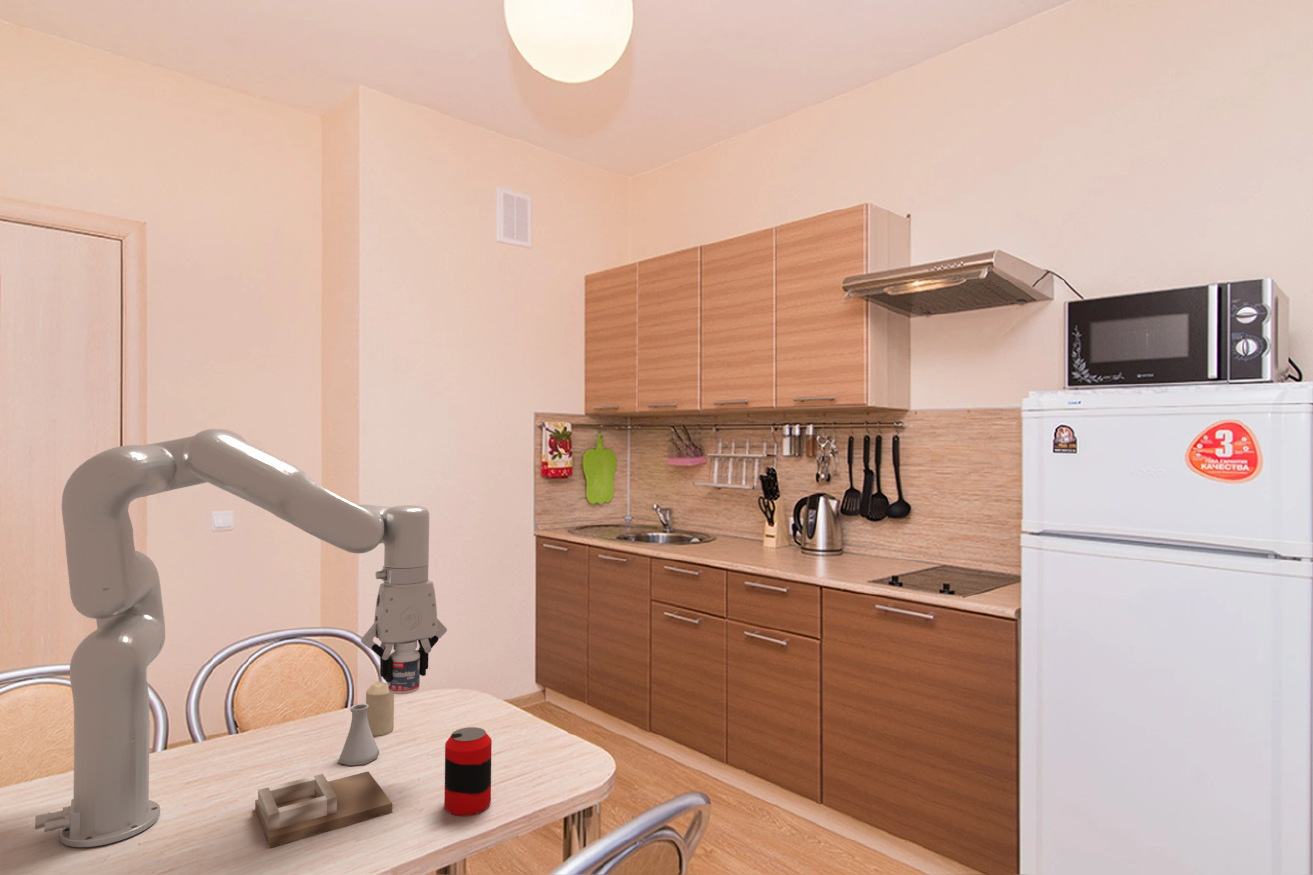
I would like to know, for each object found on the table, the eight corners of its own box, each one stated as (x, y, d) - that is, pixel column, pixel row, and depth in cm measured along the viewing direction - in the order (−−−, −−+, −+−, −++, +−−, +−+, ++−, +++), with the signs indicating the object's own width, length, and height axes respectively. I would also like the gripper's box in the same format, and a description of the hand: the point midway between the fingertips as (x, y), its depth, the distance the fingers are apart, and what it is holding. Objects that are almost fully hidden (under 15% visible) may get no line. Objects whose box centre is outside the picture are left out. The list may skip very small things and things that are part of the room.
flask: (385, 751, 143) (386, 700, 143) (367, 767, 136) (368, 714, 136) (350, 749, 143) (351, 698, 144) (330, 765, 136) (331, 712, 136)
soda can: (441, 799, 124) (442, 728, 124) (486, 790, 127) (486, 722, 127) (447, 820, 117) (448, 746, 117) (494, 811, 120) (495, 738, 120)
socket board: (269, 847, 109) (270, 821, 109) (255, 809, 120) (255, 784, 120) (392, 811, 120) (392, 787, 120) (368, 779, 131) (368, 757, 131)
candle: (399, 729, 153) (399, 682, 153) (376, 738, 149) (377, 689, 149) (382, 723, 156) (383, 677, 156) (359, 732, 152) (360, 684, 152)
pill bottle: (387, 696, 126) (387, 645, 127) (389, 686, 132) (390, 637, 132) (419, 693, 128) (419, 643, 128) (420, 684, 133) (421, 635, 133)
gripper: (362, 583, 122) (360, 692, 122) (460, 574, 132) (458, 674, 132) (350, 576, 128) (348, 679, 128) (445, 567, 138) (443, 663, 138)
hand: (404, 675), depth 130 cm, fingers closed on pill bottle, 5 cm apart
